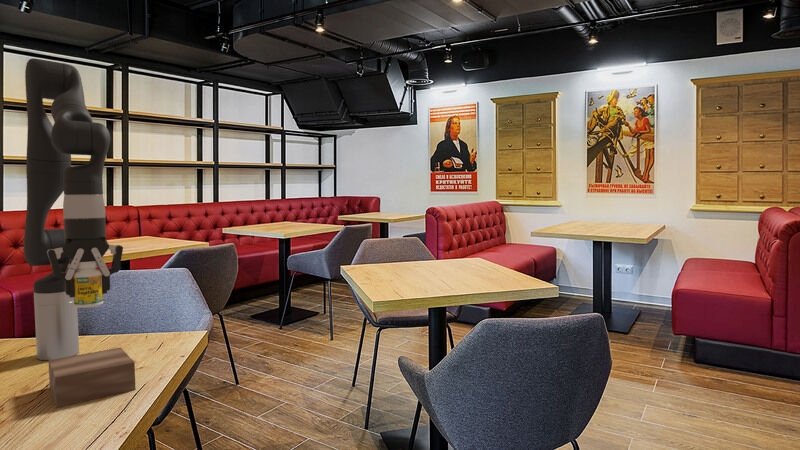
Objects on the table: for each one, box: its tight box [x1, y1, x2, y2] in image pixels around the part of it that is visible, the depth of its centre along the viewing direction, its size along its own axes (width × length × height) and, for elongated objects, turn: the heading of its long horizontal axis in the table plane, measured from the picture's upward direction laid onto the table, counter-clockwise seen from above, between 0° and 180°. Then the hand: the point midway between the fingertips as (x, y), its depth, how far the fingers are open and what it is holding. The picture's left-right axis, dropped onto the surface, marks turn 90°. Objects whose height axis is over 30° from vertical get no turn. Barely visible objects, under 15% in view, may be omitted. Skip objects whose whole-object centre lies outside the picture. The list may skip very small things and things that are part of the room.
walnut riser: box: [47, 347, 137, 408], centre depth 108 cm, size 14×14×6 cm
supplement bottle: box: [73, 261, 104, 309], centre depth 107 cm, size 5×5×10 cm
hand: (88, 294), depth 107 cm, fingers closed on supplement bottle, 5 cm apart
